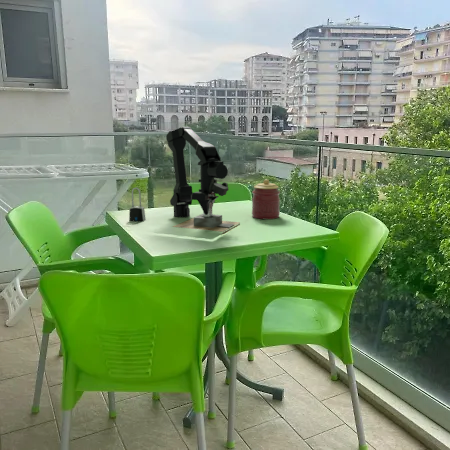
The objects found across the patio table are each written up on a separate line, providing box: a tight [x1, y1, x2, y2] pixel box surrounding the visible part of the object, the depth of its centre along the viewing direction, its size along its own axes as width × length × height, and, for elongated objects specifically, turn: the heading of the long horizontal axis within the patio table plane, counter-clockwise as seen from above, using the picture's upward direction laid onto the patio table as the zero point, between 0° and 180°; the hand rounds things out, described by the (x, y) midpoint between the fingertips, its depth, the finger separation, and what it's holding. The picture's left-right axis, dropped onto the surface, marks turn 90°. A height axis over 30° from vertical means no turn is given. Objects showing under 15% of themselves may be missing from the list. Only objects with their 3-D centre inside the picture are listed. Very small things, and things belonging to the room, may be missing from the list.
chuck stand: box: [172, 213, 241, 235], centre depth 175 cm, size 23×18×4 cm
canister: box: [251, 179, 281, 220], centre depth 193 cm, size 13×13×18 cm
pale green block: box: [202, 199, 216, 218], centre depth 174 cm, size 6×3×10 cm, turn 67°
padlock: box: [128, 187, 147, 222], centre depth 187 cm, size 7×4×15 cm, turn 86°
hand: (207, 213), depth 174 cm, fingers closed on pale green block, 3 cm apart
